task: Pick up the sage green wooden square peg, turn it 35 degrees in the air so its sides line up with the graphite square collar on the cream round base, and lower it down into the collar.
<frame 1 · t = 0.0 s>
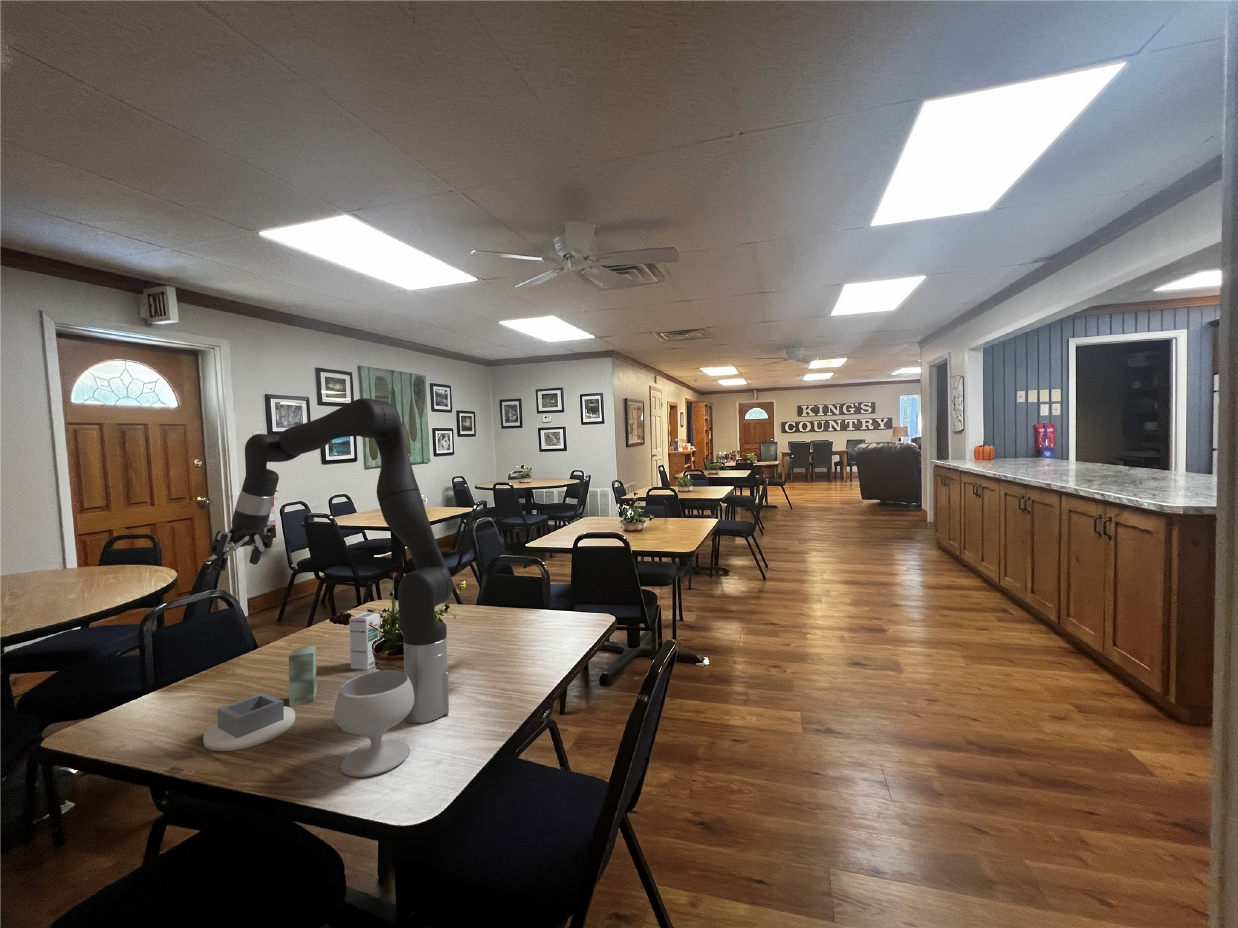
hand: (237, 566, 131), 31 cm above the table, tool tilted 20°, fingers open, 8 cm apart
syrup box: (365, 666, 144), on the table
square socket: (251, 730, 109), on the table
chalice: (376, 760, 97), on the table
square peg: (303, 699, 123), on the table
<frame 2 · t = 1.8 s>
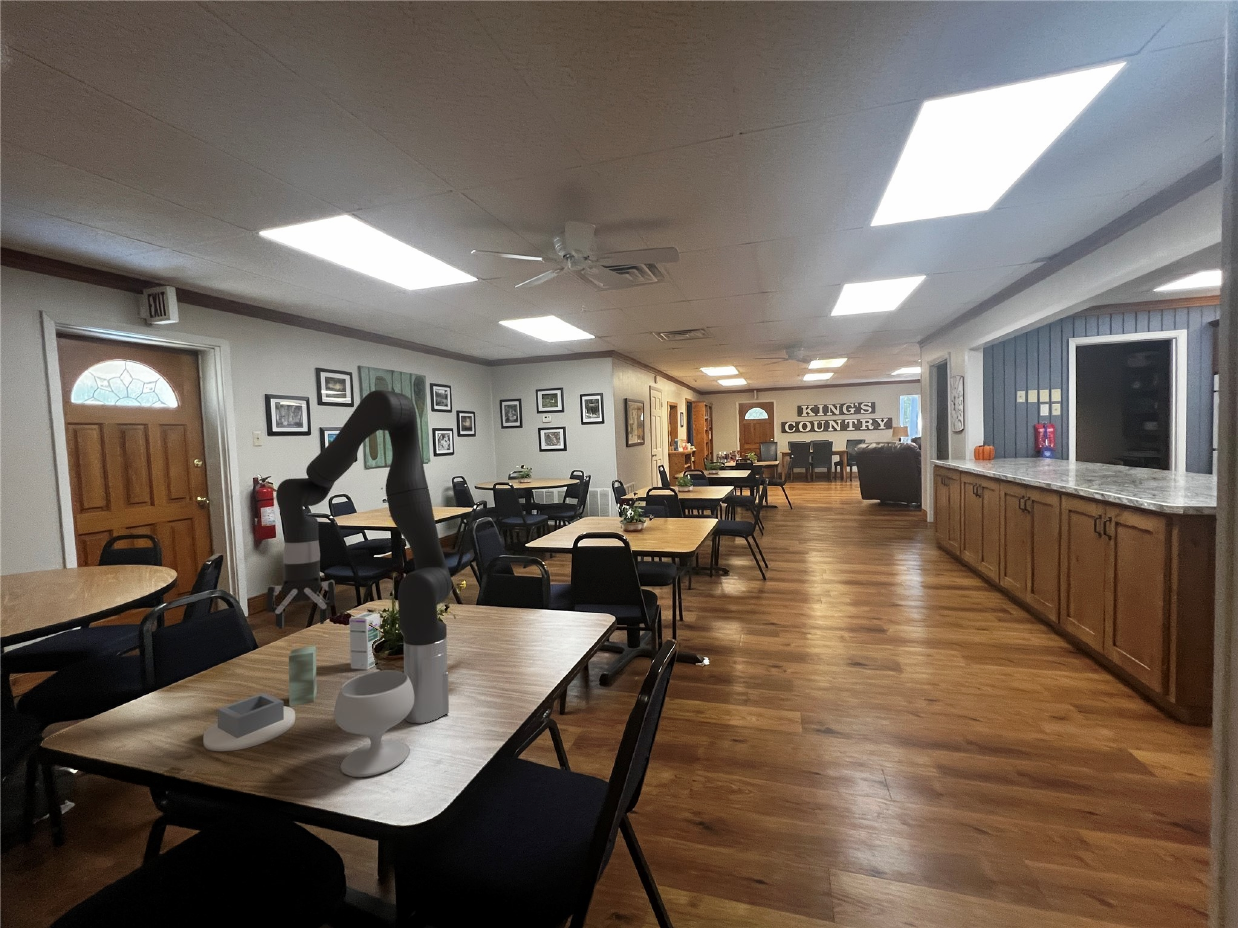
hand: (302, 625, 123), 18 cm above the table, tool pointing down, fingers open, 8 cm apart
nothing on the table moved.
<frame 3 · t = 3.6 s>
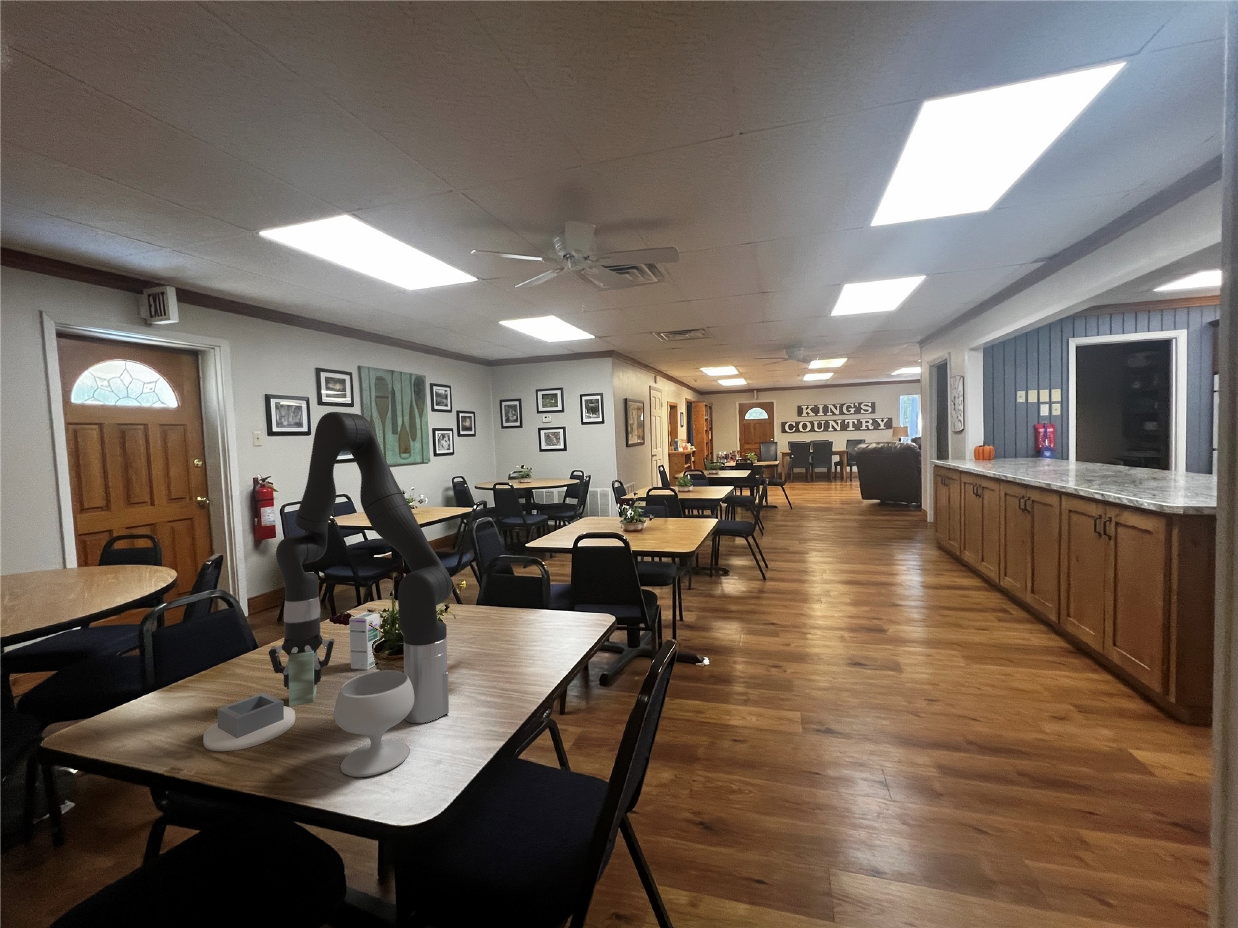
hand: (303, 685, 123), 3 cm above the table, tool pointing down, fingers closed on square peg, 5 cm apart
square peg: (303, 699, 123), on the table, touching gripper
everything else where it was.
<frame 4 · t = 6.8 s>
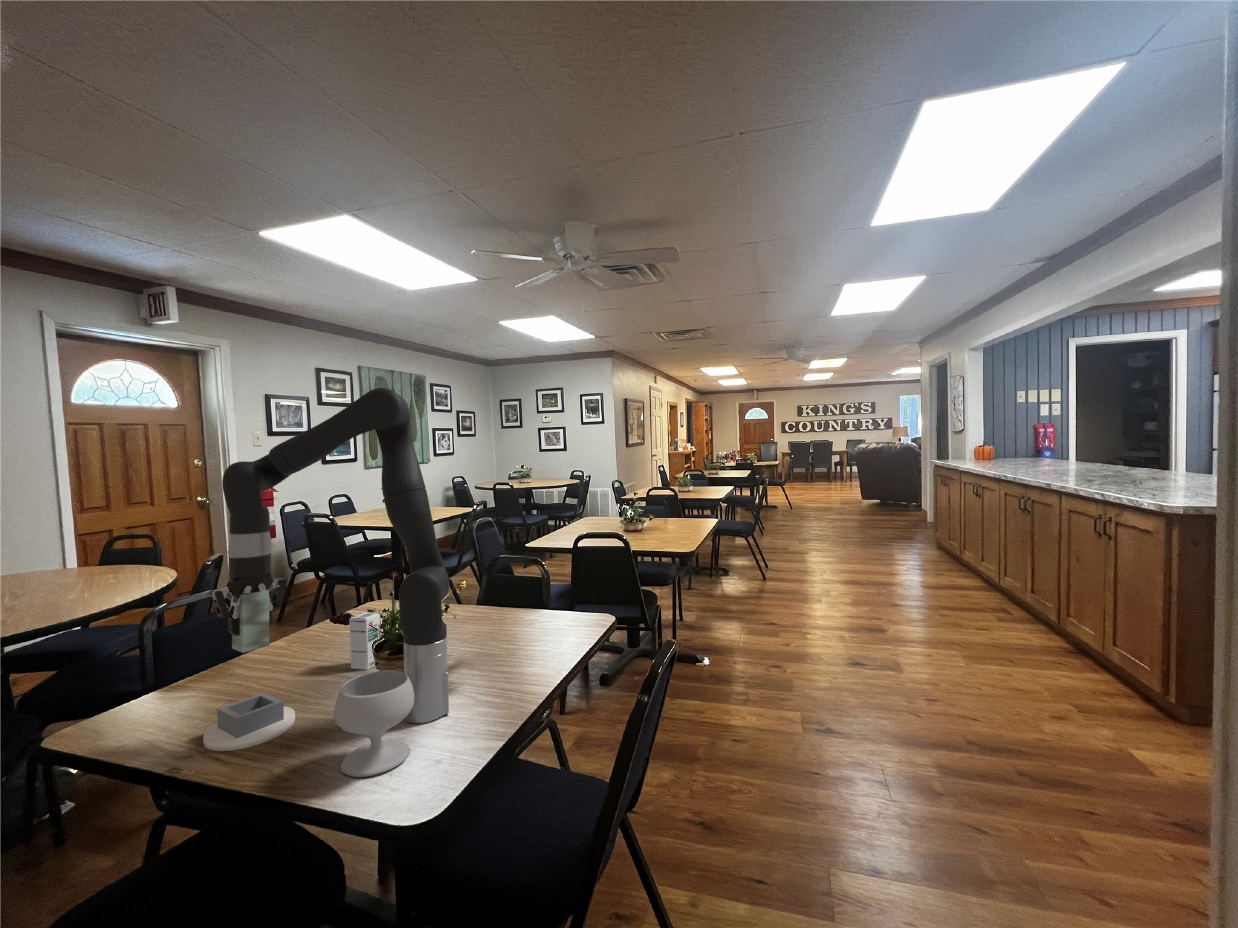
hand: (250, 630, 109), 21 cm above the table, tool pointing down, fingers closed on square peg, 5 cm apart
square peg: (250, 646, 109), point 18 cm above the table, touching gripper
everything else where it was.
when the fingers open (7 cm above the table, at t = 9.9 s): square peg drops 2 cm, resting on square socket.
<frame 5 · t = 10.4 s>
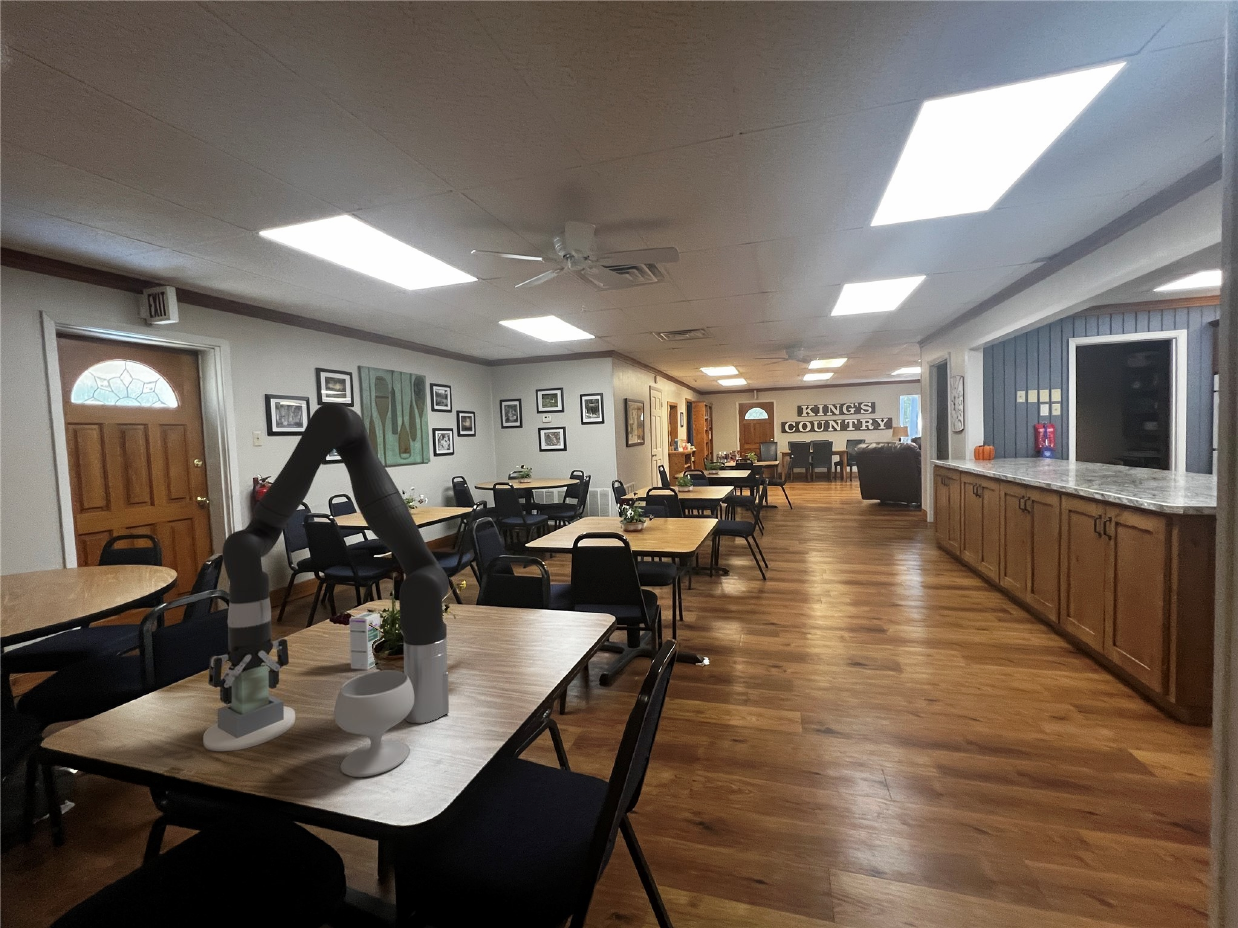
hand: (250, 695, 109), 8 cm above the table, tool pointing down, fingers open, 8 cm apart
square peg: (250, 723, 109), point 1 cm above the table, touching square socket
everything else where it was.
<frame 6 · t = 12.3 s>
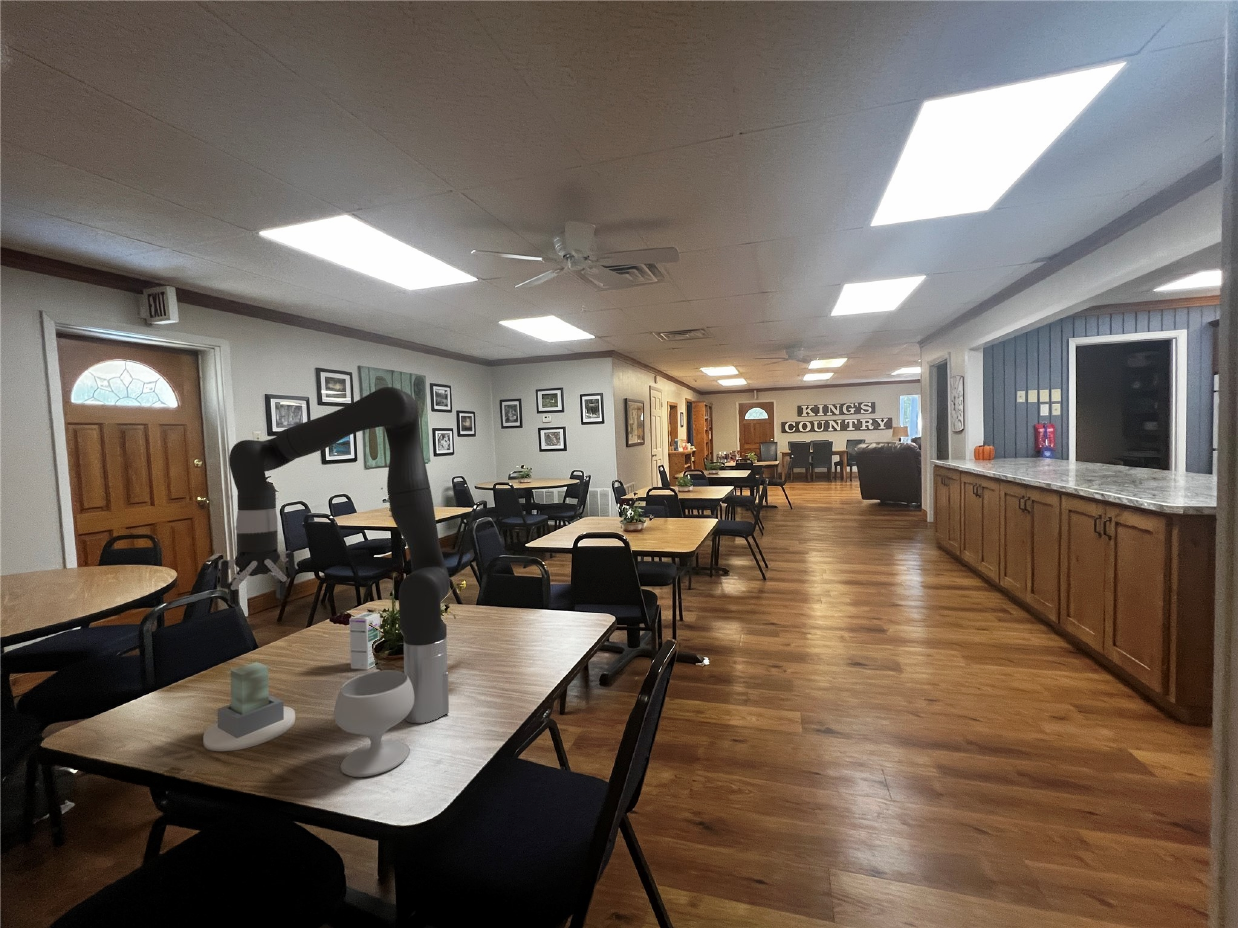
hand: (258, 601, 112), 27 cm above the table, tool pointing down, fingers open, 8 cm apart
nothing on the table moved.
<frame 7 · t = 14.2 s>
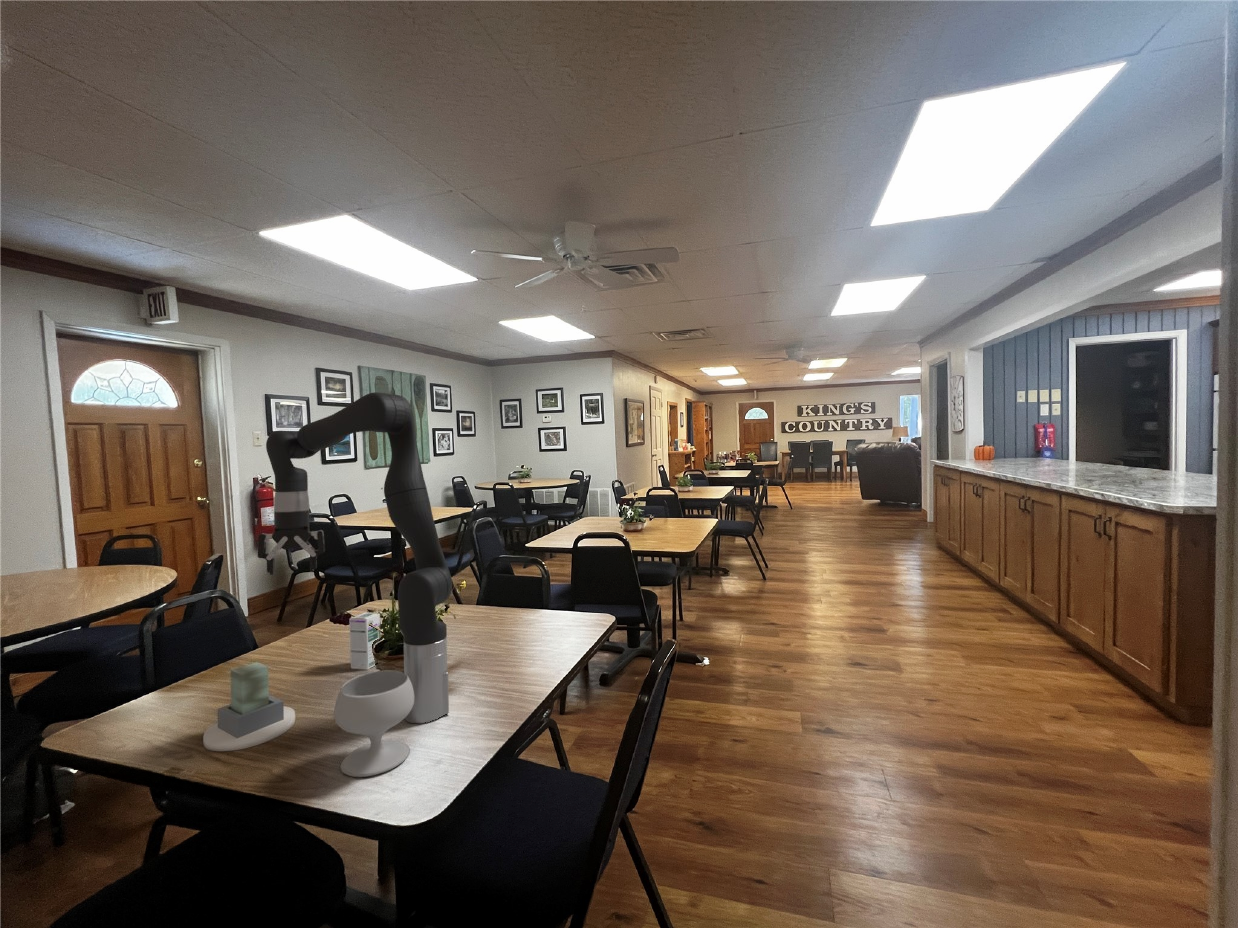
hand: (292, 572, 128), 30 cm above the table, tool pointing down, fingers open, 8 cm apart
nothing on the table moved.
at the end: square peg 0.2 cm off-centre on the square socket, point 1.5 cm above the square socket's base; square peg tilted 0°; the gripper is holding nothing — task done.
